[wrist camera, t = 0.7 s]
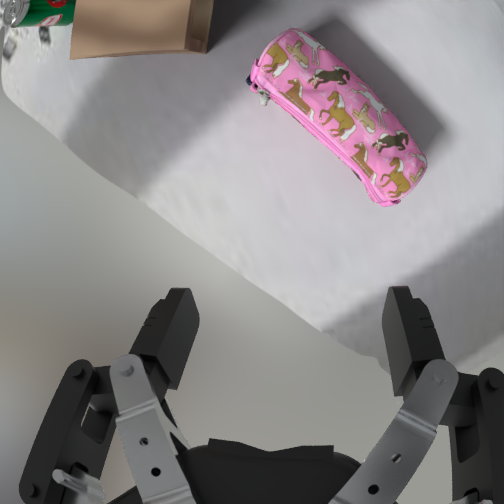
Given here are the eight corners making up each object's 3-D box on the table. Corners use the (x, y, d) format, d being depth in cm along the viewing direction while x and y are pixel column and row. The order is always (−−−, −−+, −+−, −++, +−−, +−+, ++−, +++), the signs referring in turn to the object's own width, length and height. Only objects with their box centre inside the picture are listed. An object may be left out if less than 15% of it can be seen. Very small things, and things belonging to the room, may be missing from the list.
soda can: (57, 29, 26) (-1, 33, 17) (61, 1, 24) (4, -1, 14) (80, 22, 26) (21, 21, 16) (85, -7, 23) (27, -14, 13)
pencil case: (243, 84, 31) (227, 86, 24) (292, 28, 26) (291, 13, 19) (371, 194, 37) (388, 226, 29) (419, 148, 32) (448, 170, 25)
